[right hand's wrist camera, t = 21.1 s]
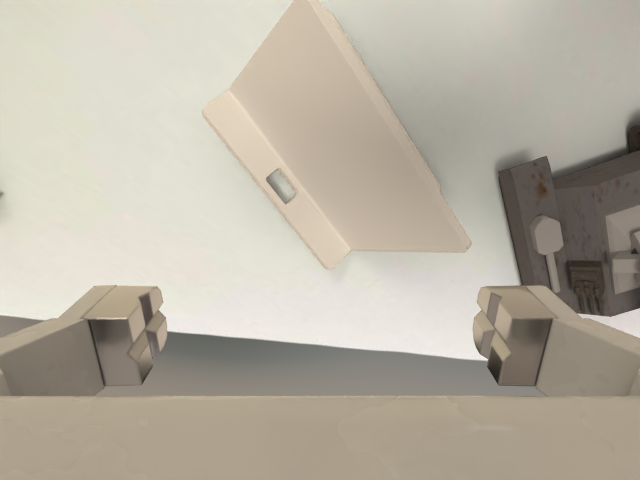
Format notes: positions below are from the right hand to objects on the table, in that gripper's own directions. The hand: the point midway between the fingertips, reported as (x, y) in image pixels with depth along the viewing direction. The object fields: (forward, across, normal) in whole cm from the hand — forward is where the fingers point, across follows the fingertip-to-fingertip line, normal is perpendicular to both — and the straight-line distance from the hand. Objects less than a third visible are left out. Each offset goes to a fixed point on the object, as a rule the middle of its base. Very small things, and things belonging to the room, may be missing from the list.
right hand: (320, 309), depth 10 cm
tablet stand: (+41, +1, -2) cm, 41 cm away
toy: (+41, +35, -12) cm, 55 cm away
